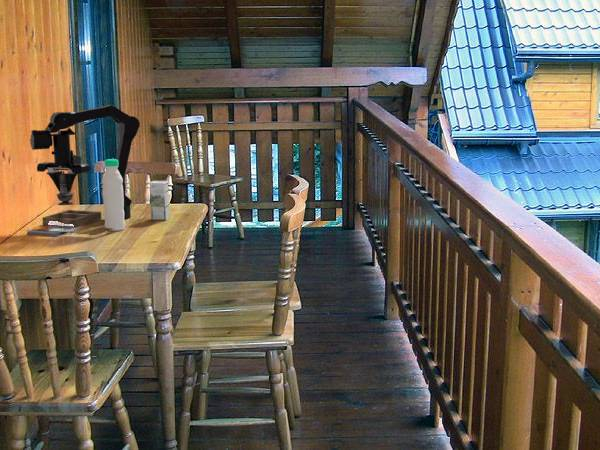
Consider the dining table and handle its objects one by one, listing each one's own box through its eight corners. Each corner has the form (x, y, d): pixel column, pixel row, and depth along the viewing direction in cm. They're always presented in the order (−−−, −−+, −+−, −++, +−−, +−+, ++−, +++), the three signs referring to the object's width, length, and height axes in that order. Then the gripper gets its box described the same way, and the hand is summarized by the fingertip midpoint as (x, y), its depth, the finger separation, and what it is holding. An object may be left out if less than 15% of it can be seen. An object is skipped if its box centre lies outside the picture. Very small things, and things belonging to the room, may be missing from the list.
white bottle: (120, 231, 291) (116, 160, 286) (101, 231, 293) (97, 160, 288) (128, 227, 298) (124, 158, 293) (110, 227, 299) (106, 158, 294)
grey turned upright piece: (71, 205, 296) (69, 172, 293) (54, 205, 296) (52, 172, 293) (76, 202, 301) (74, 169, 299) (59, 202, 301) (57, 169, 299)
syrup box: (169, 217, 316) (168, 180, 313) (165, 220, 310) (164, 182, 308) (155, 217, 317) (153, 179, 314) (150, 220, 311) (149, 182, 308)
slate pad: (71, 231, 292) (70, 228, 292) (56, 236, 285) (56, 233, 284) (42, 229, 296) (42, 226, 296) (27, 234, 288) (27, 231, 288)
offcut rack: (101, 222, 308) (101, 211, 308) (76, 230, 294) (75, 219, 293) (69, 220, 313) (68, 209, 312) (43, 228, 298) (42, 217, 297)
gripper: (97, 146, 299) (99, 189, 302) (53, 145, 305) (56, 187, 308) (79, 149, 289) (82, 194, 292) (34, 148, 295) (37, 191, 298)
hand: (64, 191), depth 298 cm, fingers closed on grey turned upright piece, 3 cm apart
